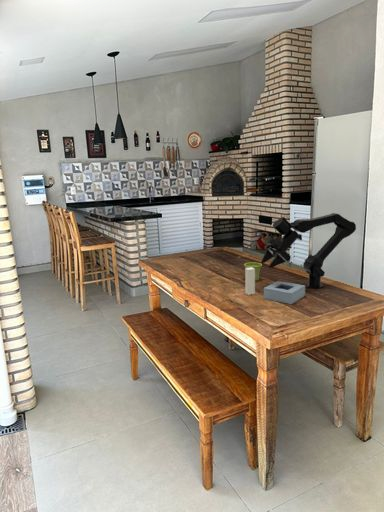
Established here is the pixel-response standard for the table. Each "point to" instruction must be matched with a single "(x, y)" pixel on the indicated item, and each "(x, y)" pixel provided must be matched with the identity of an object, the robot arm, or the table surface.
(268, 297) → the grey thick square frame
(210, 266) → the table surface
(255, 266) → the plant pot
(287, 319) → the table surface
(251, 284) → the post
